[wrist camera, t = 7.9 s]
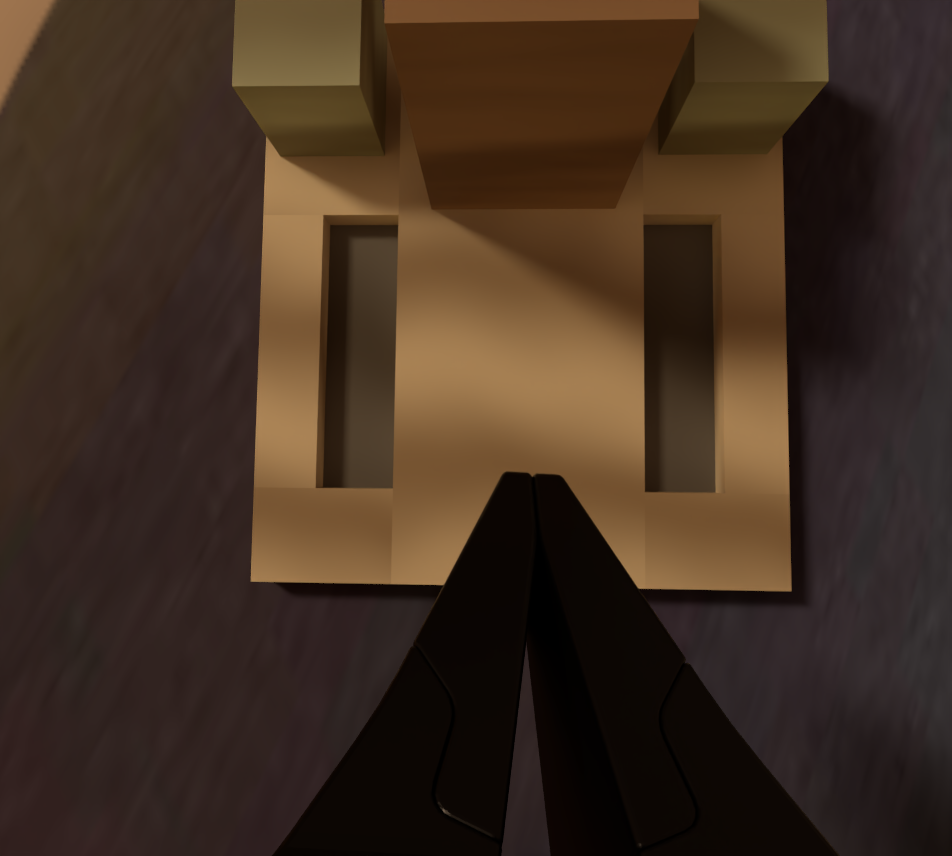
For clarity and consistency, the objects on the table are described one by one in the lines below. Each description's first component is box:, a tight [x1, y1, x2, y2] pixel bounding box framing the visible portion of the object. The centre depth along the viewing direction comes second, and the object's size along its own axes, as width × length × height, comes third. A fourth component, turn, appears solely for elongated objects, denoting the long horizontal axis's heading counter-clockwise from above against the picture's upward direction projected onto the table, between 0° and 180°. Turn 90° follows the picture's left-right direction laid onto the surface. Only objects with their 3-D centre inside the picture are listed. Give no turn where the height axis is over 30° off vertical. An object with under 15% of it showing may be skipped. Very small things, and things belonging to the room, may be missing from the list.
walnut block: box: [384, 0, 699, 209], centre depth 17 cm, size 5×6×9 cm
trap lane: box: [232, 0, 828, 591], centre depth 20 cm, size 18×17×5 cm
